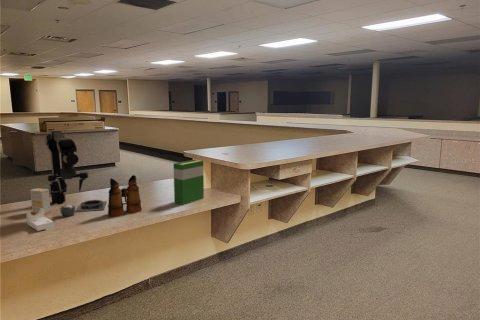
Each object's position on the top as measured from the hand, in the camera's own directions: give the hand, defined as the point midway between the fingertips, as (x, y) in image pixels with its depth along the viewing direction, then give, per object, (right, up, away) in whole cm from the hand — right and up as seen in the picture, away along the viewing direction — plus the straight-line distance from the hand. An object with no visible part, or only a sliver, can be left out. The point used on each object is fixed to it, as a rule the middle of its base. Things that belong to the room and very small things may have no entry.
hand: (70, 192), depth 179 cm
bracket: (-7, -16, -15) cm, 23 cm away
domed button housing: (-2, -13, +1) cm, 13 cm away
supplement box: (-18, -12, +5) cm, 22 cm away
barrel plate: (+5, -10, +15) cm, 19 cm away
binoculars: (+27, -12, +7) cm, 30 cm away
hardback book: (+59, -8, +30) cm, 66 cm away
